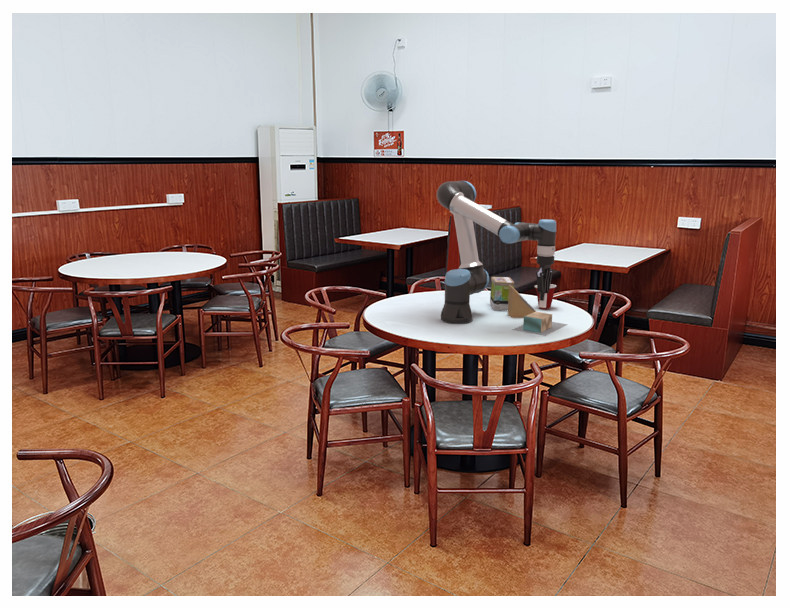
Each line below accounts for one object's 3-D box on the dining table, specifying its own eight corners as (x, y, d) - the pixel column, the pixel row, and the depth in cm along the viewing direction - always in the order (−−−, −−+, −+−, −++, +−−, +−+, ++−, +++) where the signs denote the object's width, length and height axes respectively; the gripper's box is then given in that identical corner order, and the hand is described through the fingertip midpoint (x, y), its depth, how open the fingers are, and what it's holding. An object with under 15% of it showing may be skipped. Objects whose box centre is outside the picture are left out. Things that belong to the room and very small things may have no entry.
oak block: (551, 327, 279) (539, 332, 270) (535, 324, 284) (523, 329, 275) (552, 314, 278) (540, 319, 268) (535, 311, 282) (523, 316, 273)
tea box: (513, 311, 310) (514, 282, 307) (493, 310, 310) (494, 281, 307) (508, 304, 325) (510, 276, 321) (489, 303, 325) (490, 276, 321)
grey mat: (545, 336, 265) (545, 335, 265) (511, 330, 275) (511, 329, 275) (568, 325, 284) (568, 324, 284) (535, 319, 293) (535, 318, 293)
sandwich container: (543, 318, 296) (544, 288, 292) (511, 318, 295) (512, 288, 292) (538, 314, 304) (540, 284, 301) (507, 314, 304) (509, 284, 300)
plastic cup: (536, 304, 323) (537, 282, 320) (557, 307, 318) (558, 284, 316) (530, 309, 313) (532, 286, 311) (552, 311, 309) (554, 288, 306)
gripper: (547, 257, 265) (544, 311, 271) (559, 254, 275) (556, 305, 281) (531, 256, 270) (528, 308, 275) (544, 252, 280) (541, 303, 285)
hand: (542, 307), depth 278 cm, fingers closed
